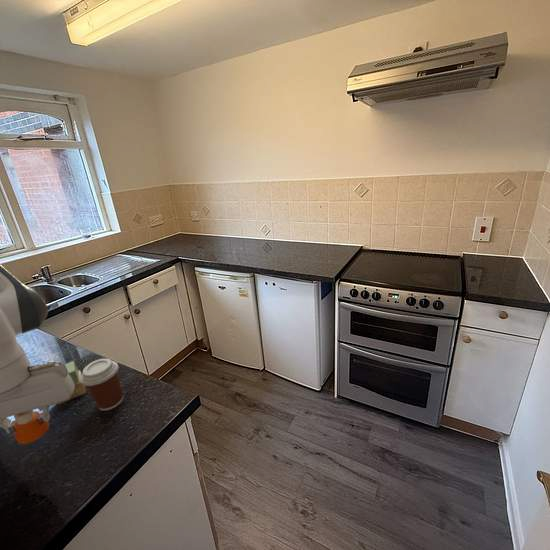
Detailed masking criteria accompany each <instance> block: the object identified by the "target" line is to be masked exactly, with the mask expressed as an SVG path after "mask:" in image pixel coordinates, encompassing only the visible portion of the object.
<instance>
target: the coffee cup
mask: <svg viewBox="0 0 550 550" xmlns="http://www.w3.org/2000/svg"><path fill="white" fill-rule="evenodd" d="M119 368H120V367H119V364H118V363H117V362H116V361H114V360H112V359H111V358H99V359H96V360H94V361H92V362H90V363H89V364H87V365H86V366H85V367H84V368H83V370H82V371H81V373H82V375H81V377H80V381H81V384H83V385H85V387H86V388H87V390H88V392H89V393H90V395H91V397H92V399H93V401H94V402H95V405H96V406H97V408H98V409H99V410H100V411H103V412H104V411H109V410H112V409H114V408H116V407H118V406H119V405H121V403H122V402H123V400H124V398H125V397H124V393H123V389H122V385H121V381H120V377H119Z"/></svg>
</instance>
